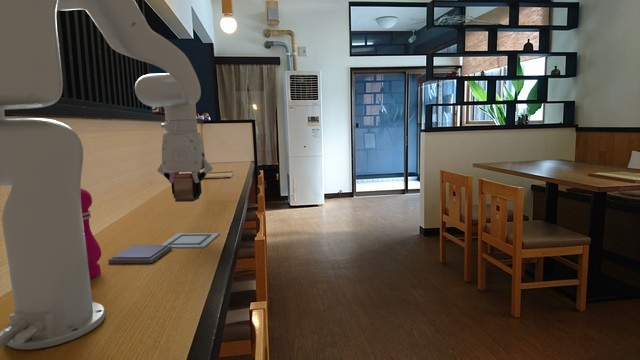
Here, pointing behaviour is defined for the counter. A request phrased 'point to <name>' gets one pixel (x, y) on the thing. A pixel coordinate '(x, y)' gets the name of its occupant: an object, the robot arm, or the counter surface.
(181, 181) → the stamp
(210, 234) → the light grey flat square
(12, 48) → the robot arm
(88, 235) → the pepper mill
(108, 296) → the counter surface
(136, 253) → the ink pad
